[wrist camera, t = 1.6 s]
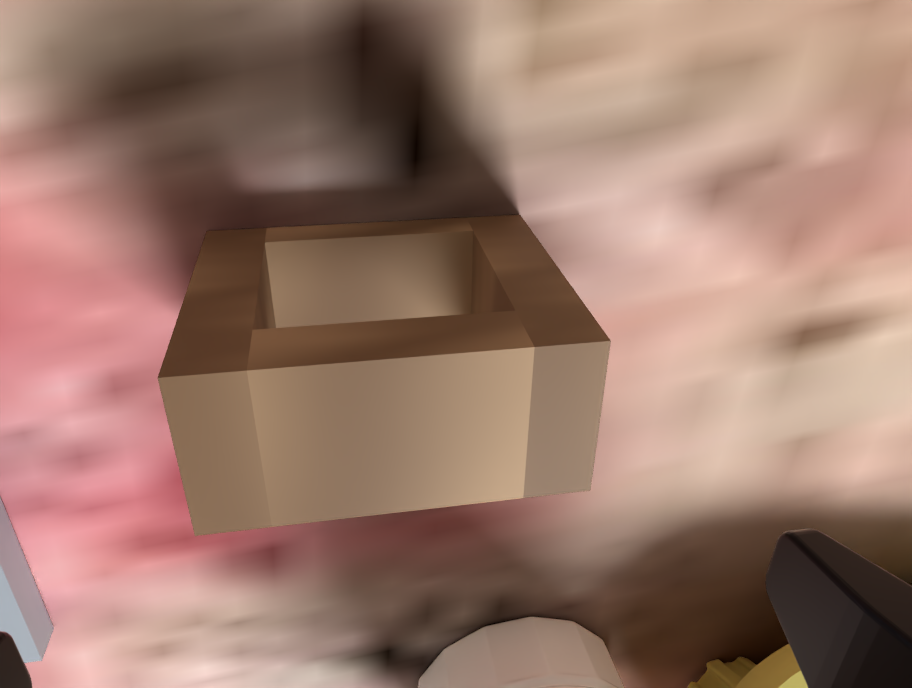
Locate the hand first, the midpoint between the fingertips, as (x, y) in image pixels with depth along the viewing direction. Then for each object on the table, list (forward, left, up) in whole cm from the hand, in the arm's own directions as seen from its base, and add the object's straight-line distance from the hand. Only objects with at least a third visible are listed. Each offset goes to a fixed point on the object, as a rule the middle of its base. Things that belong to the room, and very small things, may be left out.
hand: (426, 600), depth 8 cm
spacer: (0, 0, -9) cm, 9 cm away
